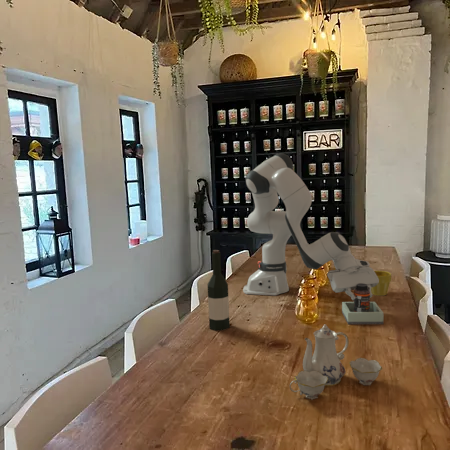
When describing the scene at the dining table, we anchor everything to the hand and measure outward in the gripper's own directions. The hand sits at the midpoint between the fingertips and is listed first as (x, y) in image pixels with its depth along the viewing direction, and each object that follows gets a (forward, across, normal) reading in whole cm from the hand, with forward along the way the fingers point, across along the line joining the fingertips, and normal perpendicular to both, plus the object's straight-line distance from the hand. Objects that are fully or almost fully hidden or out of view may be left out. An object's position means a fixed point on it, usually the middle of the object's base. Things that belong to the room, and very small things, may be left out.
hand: (362, 298), depth 166 cm
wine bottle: (-5, -54, +18) cm, 57 cm away
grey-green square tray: (+6, 0, +6) cm, 8 cm away
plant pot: (-10, +26, +22) cm, 36 cm away
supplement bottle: (+4, 0, +5) cm, 6 cm away
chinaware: (+33, -39, -20) cm, 55 cm away
